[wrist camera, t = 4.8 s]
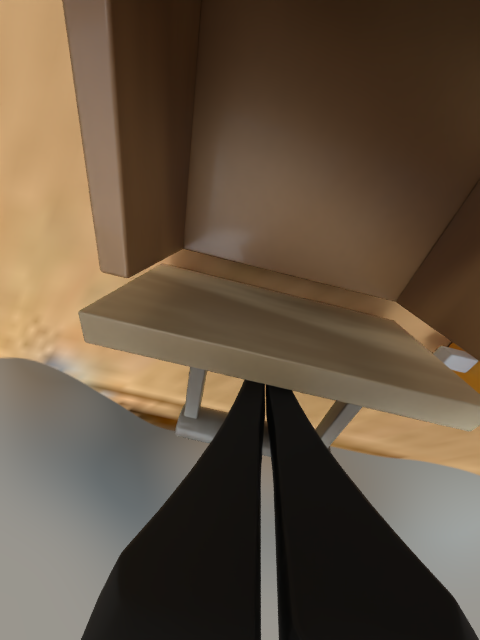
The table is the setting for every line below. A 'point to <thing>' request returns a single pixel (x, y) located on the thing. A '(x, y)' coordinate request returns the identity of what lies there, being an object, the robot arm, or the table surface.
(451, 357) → the box cutter
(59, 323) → the table surface
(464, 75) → the drawer
